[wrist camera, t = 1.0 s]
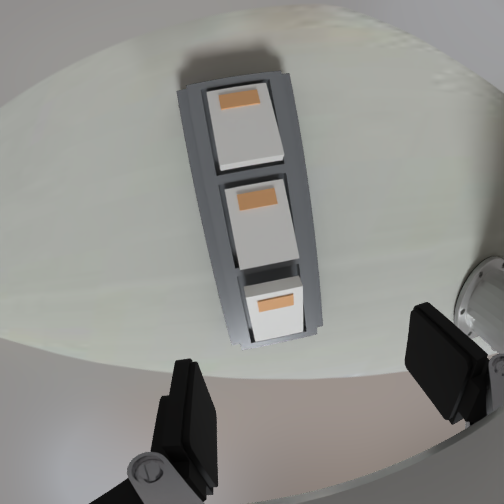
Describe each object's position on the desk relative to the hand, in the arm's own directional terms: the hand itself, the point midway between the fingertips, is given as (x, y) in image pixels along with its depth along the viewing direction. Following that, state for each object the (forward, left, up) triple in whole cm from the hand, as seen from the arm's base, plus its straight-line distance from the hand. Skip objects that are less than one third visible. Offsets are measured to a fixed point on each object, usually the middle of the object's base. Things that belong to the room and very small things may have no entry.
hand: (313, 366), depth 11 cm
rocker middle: (+2, -1, -13) cm, 14 cm away
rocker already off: (-5, +3, -13) cm, 14 cm away
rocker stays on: (+8, -5, -13) cm, 17 cm away
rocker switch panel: (+2, -1, -18) cm, 18 cm away
